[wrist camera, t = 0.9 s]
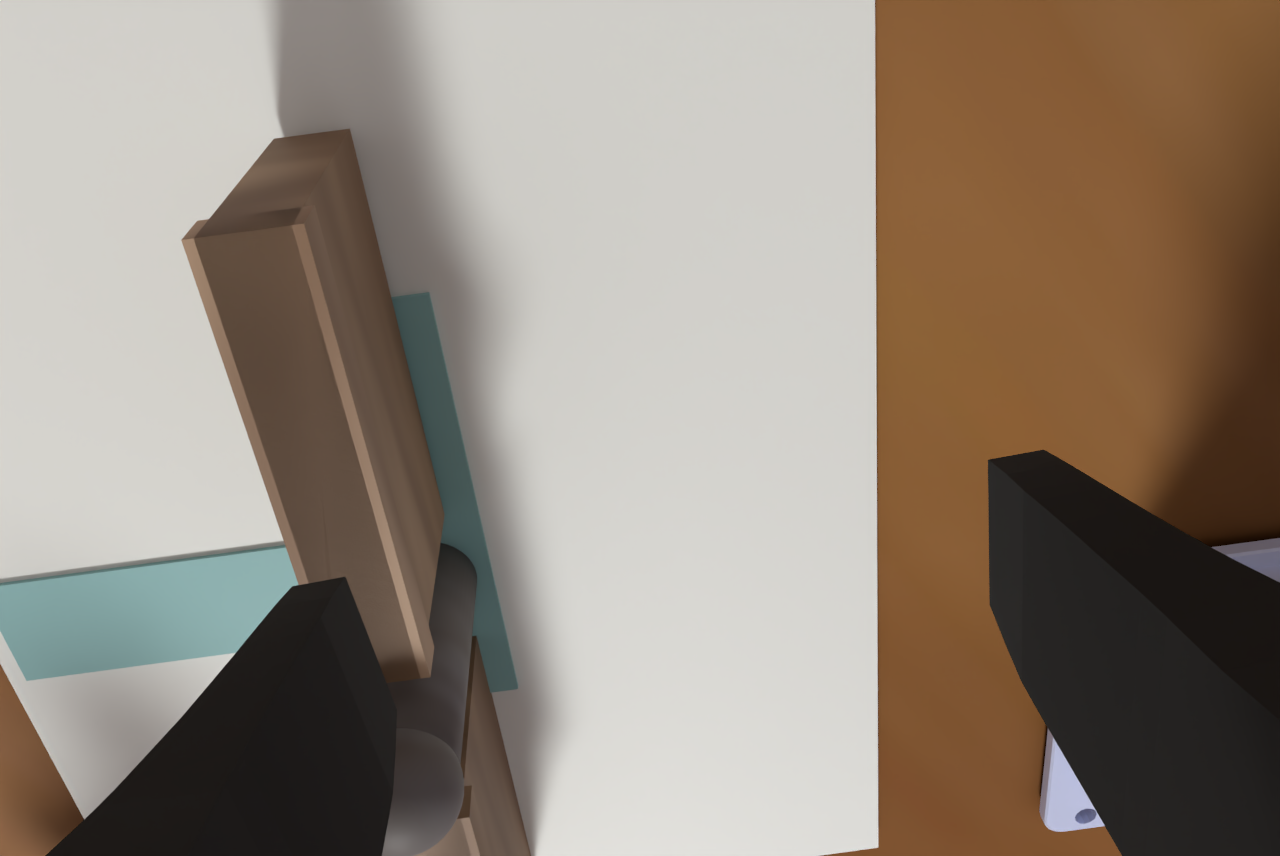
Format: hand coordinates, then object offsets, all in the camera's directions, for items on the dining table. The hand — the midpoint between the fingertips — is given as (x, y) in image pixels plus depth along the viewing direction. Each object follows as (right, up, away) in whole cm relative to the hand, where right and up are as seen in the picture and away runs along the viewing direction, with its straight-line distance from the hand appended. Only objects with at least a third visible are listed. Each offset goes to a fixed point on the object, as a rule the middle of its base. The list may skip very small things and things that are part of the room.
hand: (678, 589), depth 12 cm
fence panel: (-5, +3, +7) cm, 9 cm away
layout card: (-5, +1, +9) cm, 10 cm away
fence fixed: (-4, -5, +12) cm, 13 cm away
